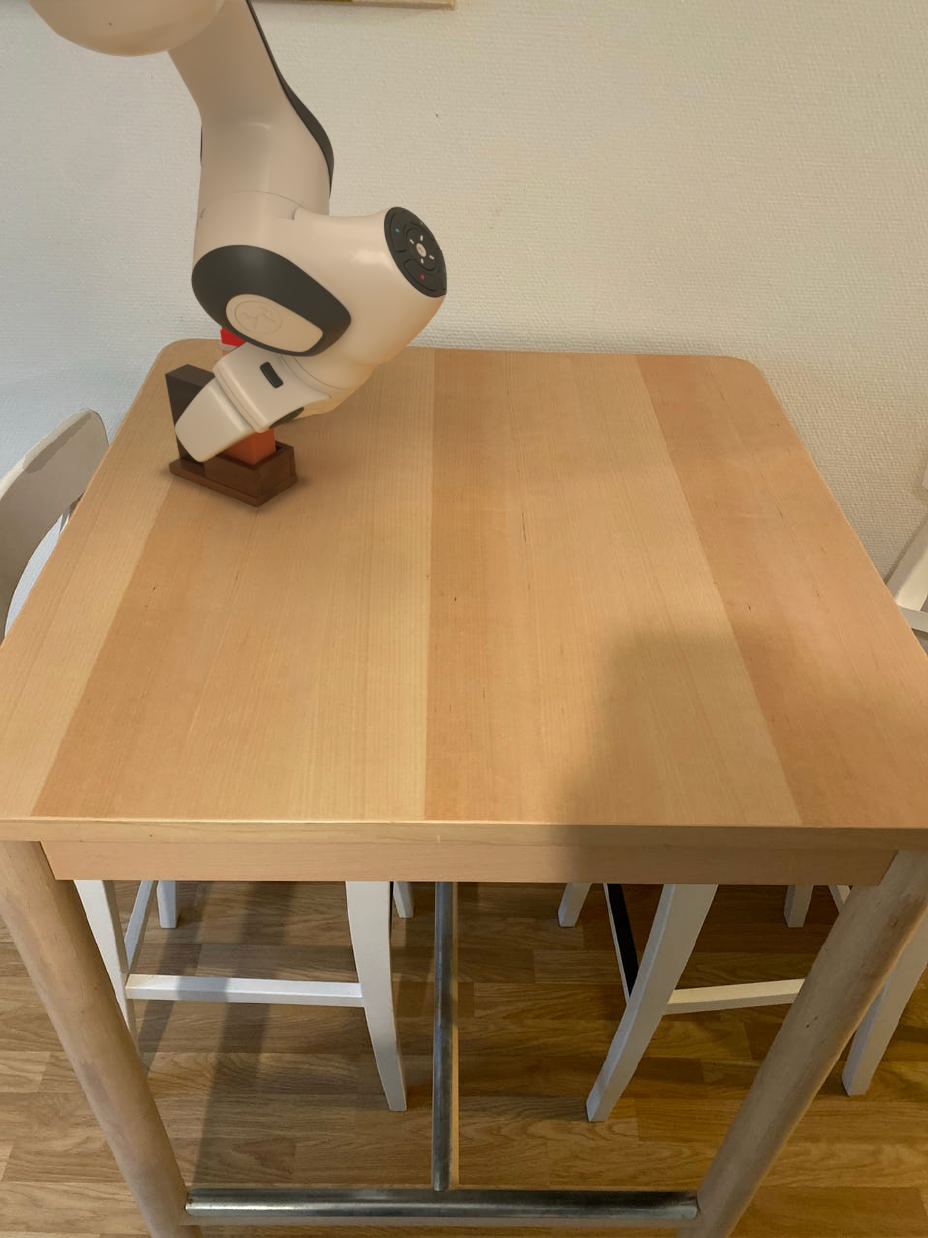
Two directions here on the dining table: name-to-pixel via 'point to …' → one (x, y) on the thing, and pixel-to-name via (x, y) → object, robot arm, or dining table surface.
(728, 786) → the dining table surface
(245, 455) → the orange rectangular block
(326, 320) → the robot arm
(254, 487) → the mount
